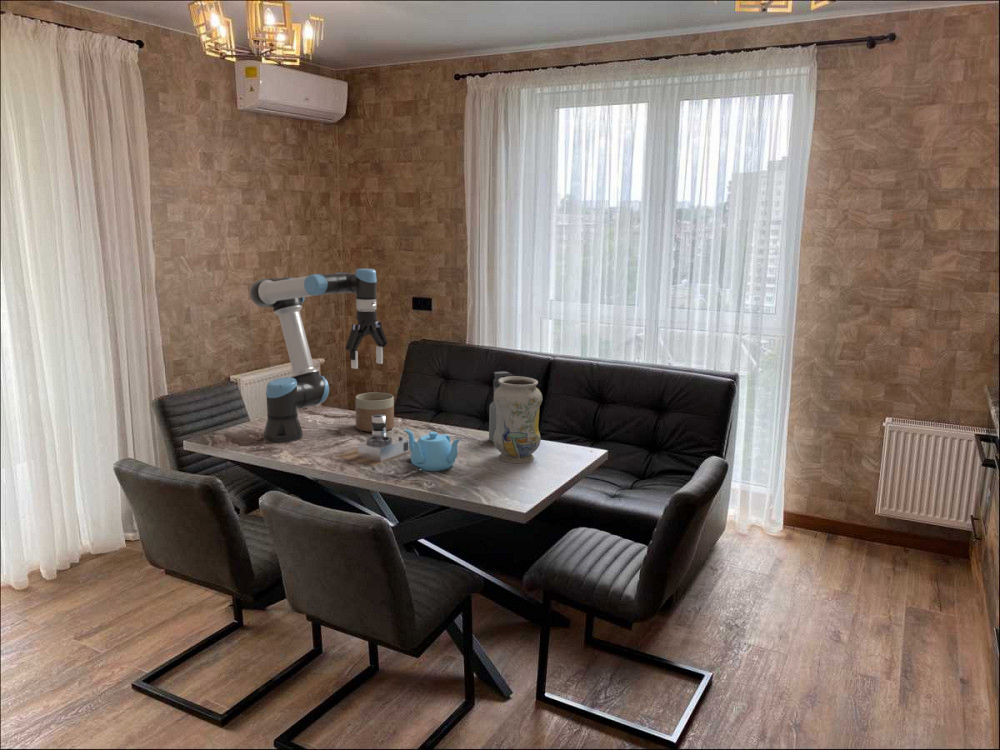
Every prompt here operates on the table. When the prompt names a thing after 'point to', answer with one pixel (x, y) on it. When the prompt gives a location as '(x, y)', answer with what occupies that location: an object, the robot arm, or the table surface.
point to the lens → (379, 427)
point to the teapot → (432, 451)
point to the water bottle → (492, 406)
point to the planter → (374, 409)
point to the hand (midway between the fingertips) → (367, 365)
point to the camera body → (383, 448)
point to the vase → (517, 418)
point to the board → (354, 457)
